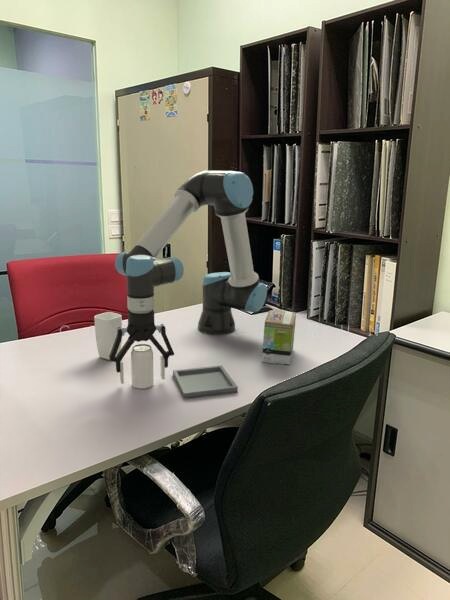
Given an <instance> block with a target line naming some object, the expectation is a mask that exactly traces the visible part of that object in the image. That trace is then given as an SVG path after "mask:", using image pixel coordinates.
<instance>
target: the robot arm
mask: <svg viewBox="0 0 450 600" xmlns="http://www.w3.org/2000/svg"><path fill="white" fill-rule="evenodd" d="M253 187H254V186H253V183H252V180H251V179H250V177H249V176H248V175H247V174H245V172H241V171H235V170H203V171H200V172H198V173H196V174H194V175H192V176H191V177H189V178H188V179H187V180H186V181H184V183H182V184H181V185H180V187H178V188H177V190H175V193H174V195H173V196H174V198H173V199H172V201H170V203H169V204H168V206H167V207H166V208H165V209H164V210H163V212H162V213H160V215H159V216H158V217H157V218H156V220H155V221H154V222H153V224H152V225H151V226H149V228H148V229H147V230H146V232H145V233H144V235H143V236H142V237H141V238H140V239H139V241H137V242H136V244H135V245H134V246H133V248H131V250H130V251H122V252H120V253H119V254H118V255H117V256H116V258H115V260H114V261H115V262H114V267H115V269H116V271H117V272H118V273H119V274H120V275H122V276H124V277H126V279H125V280H126V294H127V296H126V299H127V309H128V311H127V326H126V327H122V328H121V327H118V328H117V336H116V339H115V342H114V344H113V347H112V350H111V353H110V355H109V358H110V360H109V362H115V370H116V373H119V377H120V384H121V385H122V384H125V382H124V381H125V378H124V361H123V359H124V357H125V355H126V354H127V353H128V351H129V350H130V348H131V347H132V345H133V344H134V343H135V342H139V343H140V342H148V341H150V342H151V343H152V344H153V346H154V347H155V348H156V349H157V351H159V353H160V354H161V355H160V377H161V379H162V380H165V379H166V377H165V375H166V374H165V372H166V371H165V370H166V368H168V366H169V358H170V357H173V356H175V352H174V349H173V348H172V347H173V346H172V344H171V342H170V341H169V338H168V336H167V333H166V331H167V330H166V326H165V324H164V323H161V324H159V325H155V311H154V309H155V287H160V286H163V285H168V284H173V283H175V282H177V281H180V280H181V279H182V278H183V276H184V271H185V269H184V265H183V262H182V261H181V260H180V259H179V258H178V257H176V256H170V257H169V256H167V257H158V255H159V254H160V253H161V252H162V250H163V249H164V248H166V245H167V244H168V243H169V242H170V240H171V239H172V238H173V237H174V236H175V234H177V231H179V229H180V228H181V227H182V226H183V224H184V223H185V221H187V220H188V218H189V217H190V215H191V214H192V213H196V212H198V211H199V209H200V208H201V207H204V206H213V208H214V212H215V213H214V214H215V216H218V217H219V218H220V222H221V226H222V233H223V237H224V245H225V248H226V254H227V259H228V266H229V271H230V272H228V271H222V272H219V271H218V272H211V273H208V274H206V275H204V276H203V279H202V311H201V314H200V317H199V319H198V323H197V330H199V331H200V332H201V333H204V334H209V335H227V334H230V333H232V332H234V331H235V329H236V323H235V318H234V316H233V312H232V309H234V310H235V309H236V310H239V311H244V312H245V313H257V312H259V311H260V310H261V309H262V308H263V306H264V304H265V302H266V300H267V295H268V288H267V286H266V284H265V283H264V282H260V276H259V274H258V273H257V272H256V271H254V264H253V258H252V251H251V245H250V238H249V232H248V225H247V219H246V213H247V212H248V210H249V207H250V205H251V204H252V202H253V196H254V188H253ZM156 331H157V332H158V333H159V334H160V335H161V337H162V338H163V339H162V340H163V341H164V344H165V345H166V349H167V351H166V350H165V348H164V347H163V346H162V345H161V343H160V342H159V341H158V340H157V338H156V337H155V336H154V334H155V332H156ZM126 333H127V334H128V335H129V336H128V338H127V340H126V342H125V343H124V344H123V345H122V346H121V350H120V352H119V353H118V355H117V356H116V353H117V350H118V348H119V345H120V342H121V339H122V340H123V337H124V336H125V334H126Z"/></svg>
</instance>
